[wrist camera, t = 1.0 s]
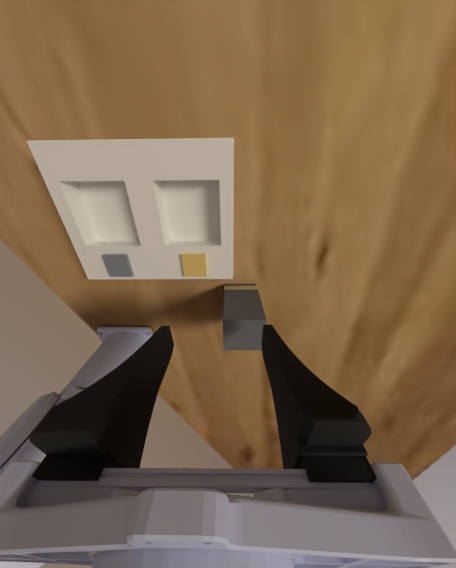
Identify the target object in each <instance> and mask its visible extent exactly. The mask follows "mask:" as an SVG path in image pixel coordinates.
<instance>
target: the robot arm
mask: <svg viewBox="0 0 456 568" xmlns="http://www.w3.org/2000/svg"><path fill="white" fill-rule="evenodd" d="M97 332H98V334H99V336H100V338H101V340H102V342H103V343H102V344H101V346H100V347H99V348H98V349H97V351H96V352H95V353H94V354H93V355H92V357H91V358H90V359H89V360H88V361H87V362H86V364H85V365H84V366H83V367H82V368H81V369H80V371H79V372H78V373H77V375H75V377H74V378H73V379H72V380H71V382H70V383H69V384H68V385H67V386H66V388H65V389H64V390H63V391H62V392H61V393H59V394H57V393H56V392H52V393H50V394H47V395H44V396H42V397H40V398H39V399H38V400H37V401H36V402H34V403H33V404H32V405H31V406H30V407H29V408H28V409H27V410H26V411H25V412H24V413H23V414H22V415H21V416H20V417H19V418H18V419H17V420H16V421H15V422H14V423H13V424H12V425H11V427H9V428H8V429H7V431H6V432H5V433H4V434H3V435H2V436H1V437H0V568H39V567H41V566H42V565H43V564H45V563H54V564H77V565H78V564H79V565H92V566H91V568H431V567H438V566H444V565H450V564H456V550H455V548H454V546H453V545H452V543H451V542H450V540H449V538H448V537H447V535H446V534H445V532H444V530H443V529H442V527H441V526H440V524H439V522H438V521H437V519H436V518H435V516H434V515H433V513H432V511H431V510H430V508H429V507H428V505H427V503H426V502H425V500H424V499H423V497H422V495H421V494H420V492H419V491H418V489H417V487H416V486H415V484H414V483H413V481H412V480H411V478H410V476H409V475H408V473H407V472H406V470H405V468H404V467H403V465H402V464H400V463H384V462H378V463H372V464H369V462H368V460H367V458H366V456H367V452H366V450H365V448H364V446H363V444H364V443H365V441H366V440H367V439H368V438H369V436H370V434H371V428H370V426H369V425H368V423H367V421H366V419H365V418H364V416H363V415H362V413H361V412H360V411H359V409H358V408H357V406H355V405H354V404H352V403H351V402H349V401H348V400H347V399H345V398H344V397H342V396H341V395H339V394H338V393H337V392H335V391H334V390H333V389H331V388H330V387H329V386H327V385H326V384H325V383H324V382H323V381H321V380H320V379H319V378H318V377H317V376H315V375H314V374H313V373H312V372H311V371H310V370H309V369H308V368H307V367H306V366H305V365H304V364H303V363H302V362H301V361H300V360H299V359H298V358H297V357H296V356H295V355H294V354H293V352H292V351H291V350H290V349H289V348H288V346H287V345H286V344H285V343H284V341H283V340H282V339H281V337H280V336H279V335H278V333H277V332H276V330H275V329H274V327H273V326H272V325H263V332H262V342H261V345H262V352H263V358H264V362H265V366H266V370H267V374H268V377H269V381H270V385H271V389H272V394H273V400H274V405H275V412H276V418H277V424H278V431H279V438H280V445H281V452H282V459H283V467H284V469H199V468H197V469H195V468H193V469H189V468H140V462H141V458H142V453H143V449H144V444H145V440H146V436H147V431H148V427H149V423H150V419H151V415H152V411H153V407H154V404H155V401H156V397H157V394H158V391H159V388H160V385H161V382H162V380H163V377H164V375H165V372H166V369H167V367H168V364H169V361H170V359H171V355H172V351H173V347H174V343H173V339H172V335H171V331H170V327H169V326H161V327H160V328H159V329H158V330H157V331H156V332H155V333H154V334H153V333H152V329H151V328H150V327H99V328H97ZM225 493H255V494H254V497H249V496H240V495H231V494H225Z"/></svg>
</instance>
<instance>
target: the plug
mask: <svg viewBox="0 0 456 568" xmlns="http://www.w3.org/2000/svg"><path fill="white" fill-rule="evenodd" d="M263 325H266V317H265V313H264V310H263V306H262V303H261V299H260V296H259V292H258V287H257V285H256V284H225V286H224V309H223V339H224V350H262V345H261V342H262V332H263Z"/></svg>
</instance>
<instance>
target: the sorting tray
mask: <svg viewBox="0 0 456 568" xmlns="http://www.w3.org/2000/svg"><path fill="white" fill-rule="evenodd" d="M27 143H28V145H29V148H30V150H31V152H32V154H33V156H34V159H35V161H36V163H37V165H38V168H39V170H40V172H41V174H42V177H43V179H44V181H45V183H46V186H47V188H48V190H49V192H50V195H51V197H52V199H53V201H54V204H55V206H56V208H57V210H58V212H59V215H60V217H61V219H62V221H63V224H64V226H65V228H66V230H67V233H68V235H69V237H70V239H71V242H72V244H73V246H74V248H75V251H76V253H77V255H78V257H79V260H80V262H81V264H82V266H83V268H84V271H85V273H86V275H87V277H88V279H233V208H234V138H188V139H114V140H40V141H27Z"/></svg>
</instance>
